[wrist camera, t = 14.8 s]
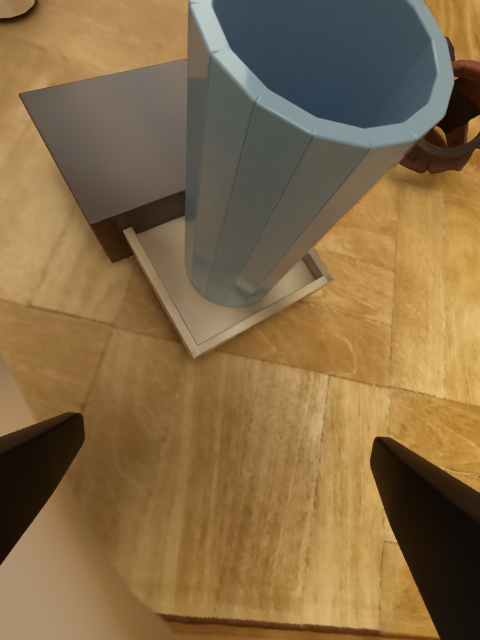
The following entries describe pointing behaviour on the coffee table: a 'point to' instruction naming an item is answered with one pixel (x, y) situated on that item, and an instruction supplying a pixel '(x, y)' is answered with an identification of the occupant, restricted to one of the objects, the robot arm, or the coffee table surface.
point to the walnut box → (148, 191)
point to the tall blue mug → (296, 126)
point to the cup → (14, 7)
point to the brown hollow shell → (452, 123)
